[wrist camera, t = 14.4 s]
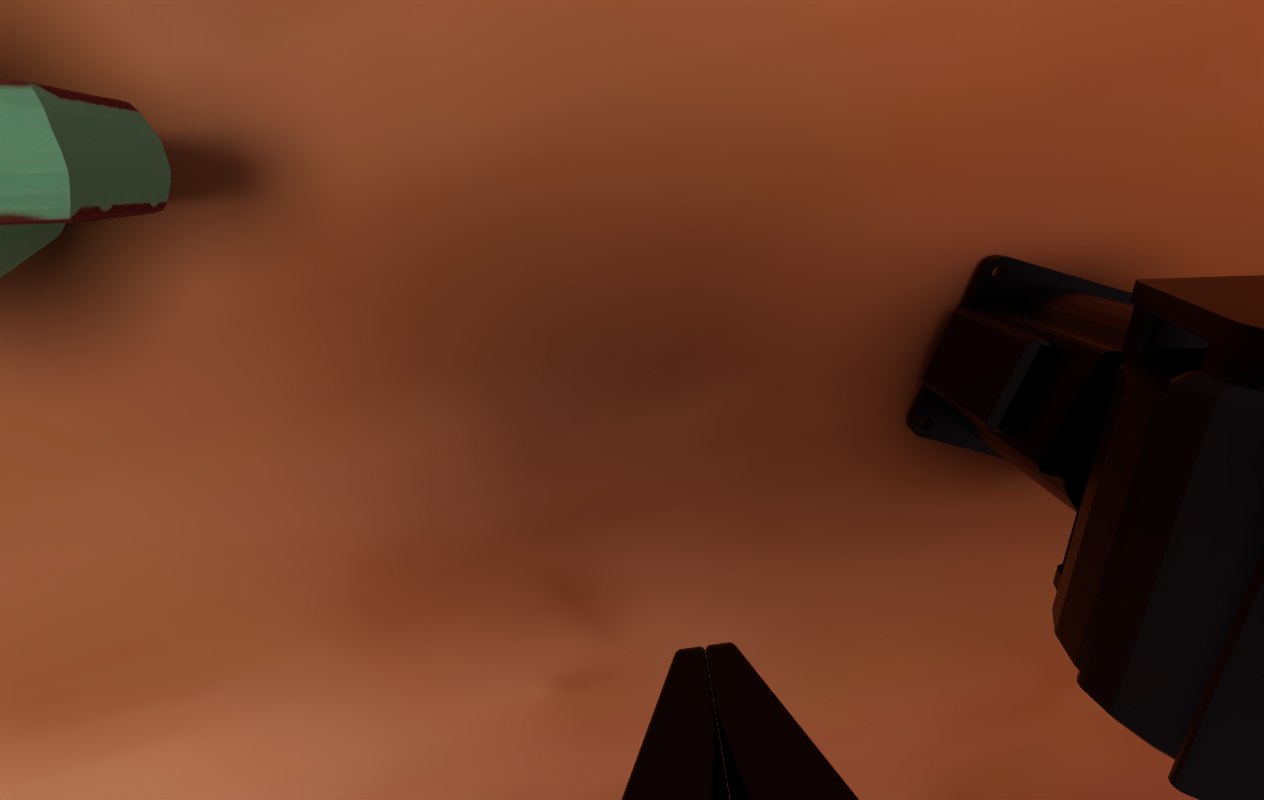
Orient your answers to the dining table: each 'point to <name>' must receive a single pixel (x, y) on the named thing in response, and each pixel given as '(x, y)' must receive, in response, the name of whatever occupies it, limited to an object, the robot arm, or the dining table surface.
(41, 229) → the mug
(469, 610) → the dining table surface
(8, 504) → the dining table surface
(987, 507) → the dining table surface
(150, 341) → the dining table surface
